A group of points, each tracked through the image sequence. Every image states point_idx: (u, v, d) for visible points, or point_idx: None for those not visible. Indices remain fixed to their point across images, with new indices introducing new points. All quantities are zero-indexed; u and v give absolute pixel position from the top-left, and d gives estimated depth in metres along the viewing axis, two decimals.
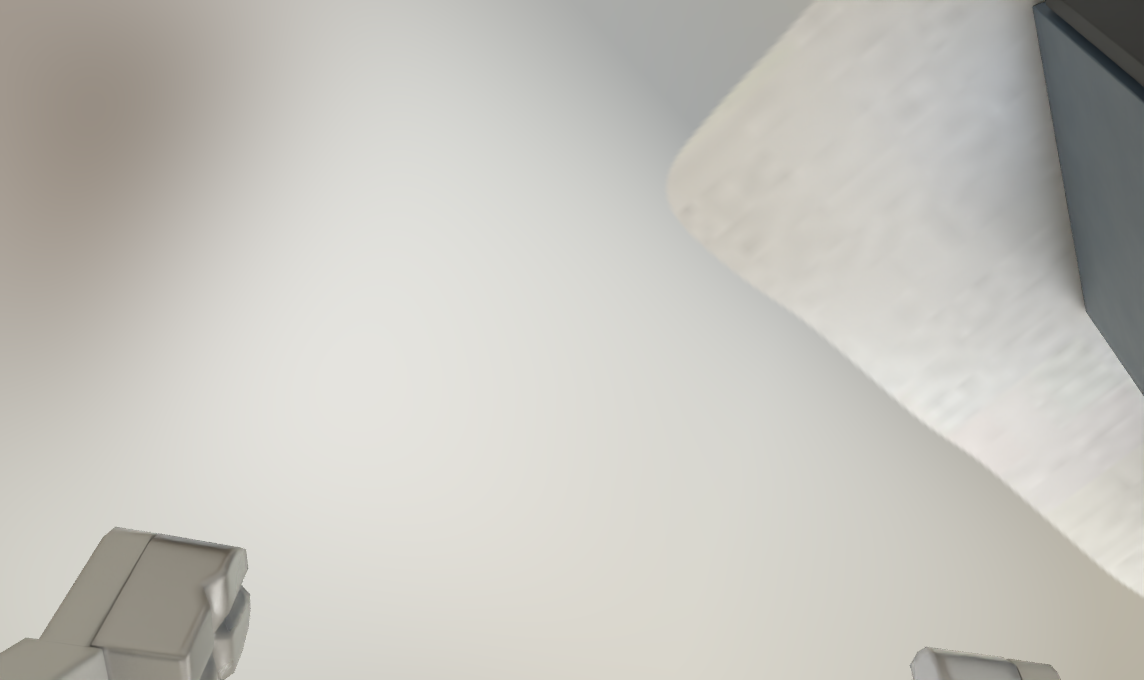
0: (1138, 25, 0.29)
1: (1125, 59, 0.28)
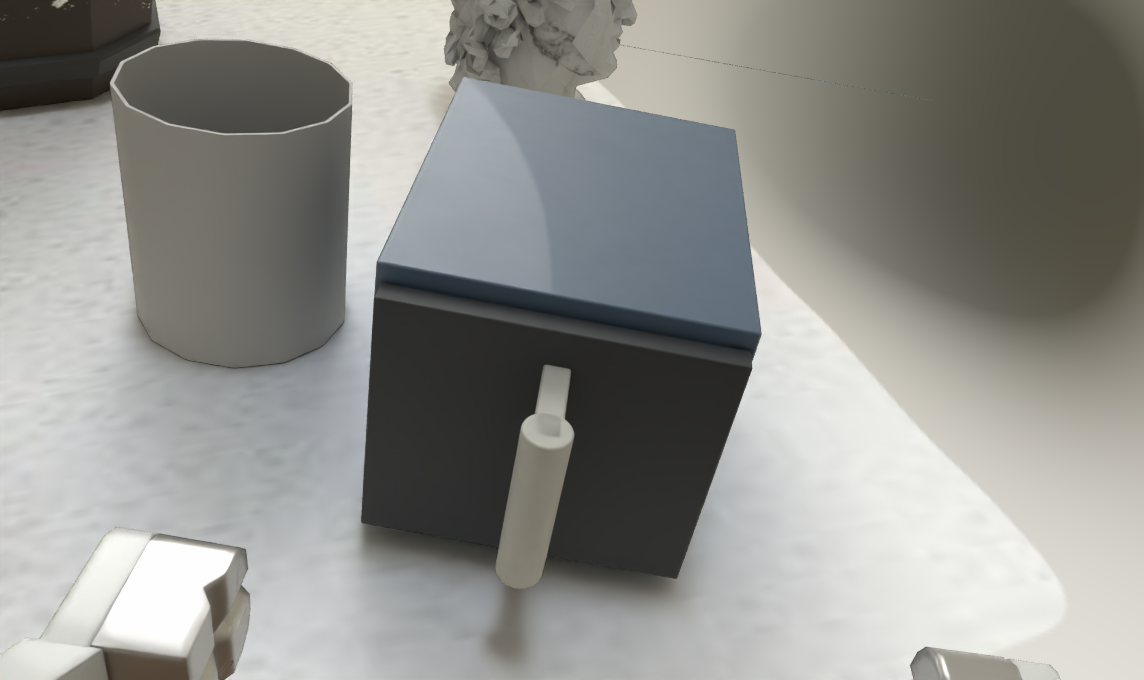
0: (695, 447, 0.29)
1: None
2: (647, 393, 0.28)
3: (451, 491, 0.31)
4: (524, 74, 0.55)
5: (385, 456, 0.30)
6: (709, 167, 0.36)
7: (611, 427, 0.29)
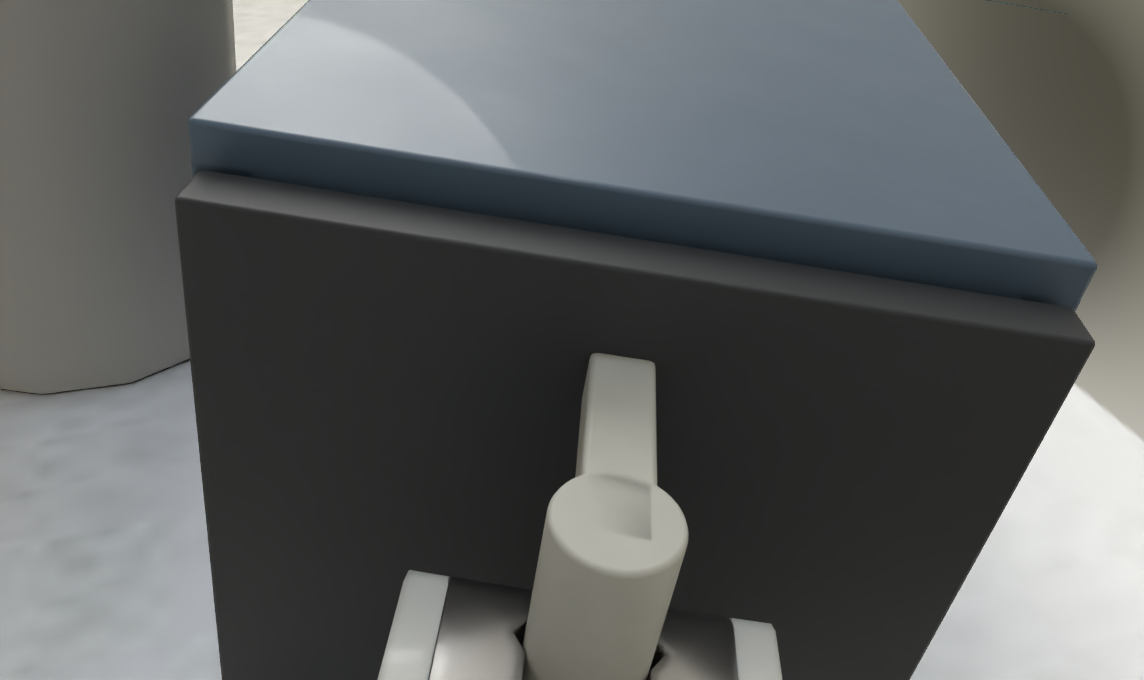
0: (928, 530, 0.13)
1: (1017, 457, 0.13)
2: (831, 414, 0.12)
3: None
4: None
5: (252, 565, 0.14)
6: (855, 8, 0.20)
7: (742, 492, 0.13)
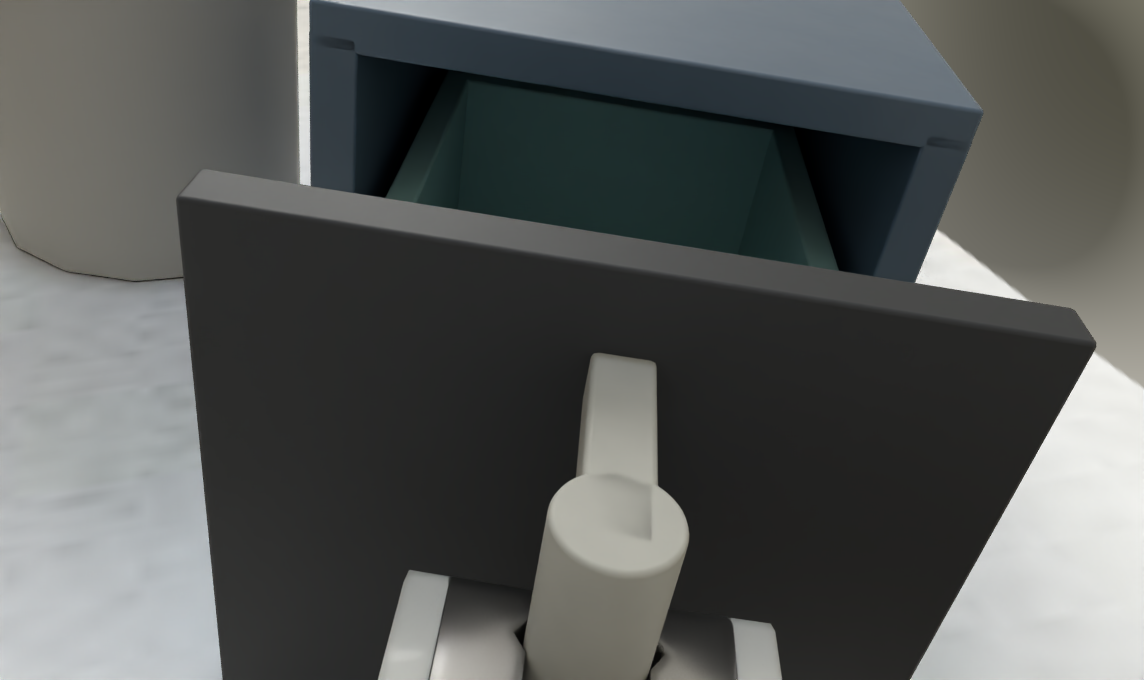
0: (929, 531, 0.13)
1: (1018, 458, 0.13)
2: (833, 414, 0.12)
3: None
4: None
5: (253, 564, 0.14)
6: None
7: (743, 492, 0.13)
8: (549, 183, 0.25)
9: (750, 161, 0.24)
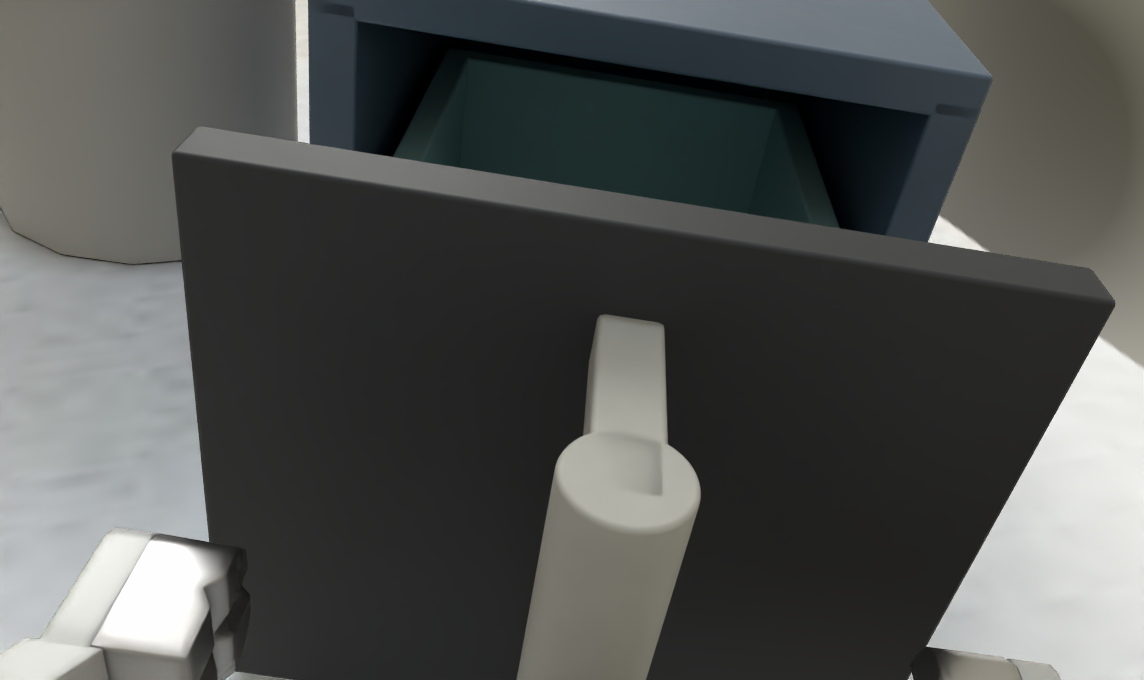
0: (942, 500, 0.13)
1: None
2: (845, 377, 0.12)
3: (399, 604, 0.15)
4: None
5: (252, 538, 0.14)
6: None
7: (752, 460, 0.13)
8: (550, 164, 0.24)
9: (753, 141, 0.24)
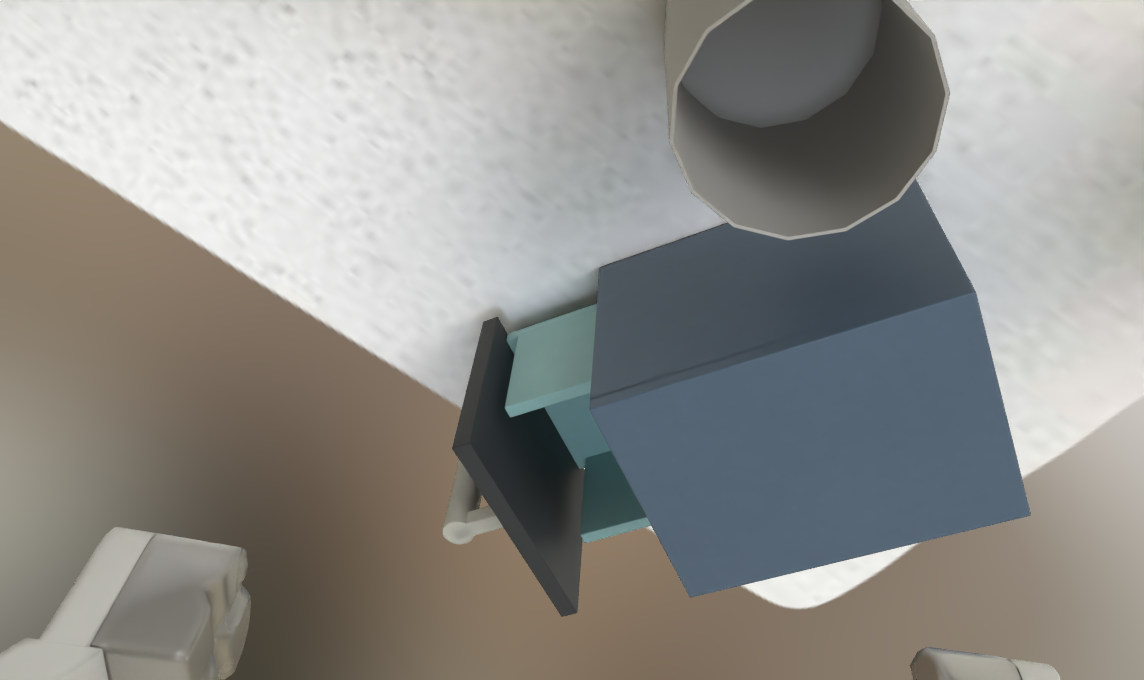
0: None
1: None
2: None
3: None
4: None
5: None
6: (921, 520, 0.38)
7: None
8: None
9: None
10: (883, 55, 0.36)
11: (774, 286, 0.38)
